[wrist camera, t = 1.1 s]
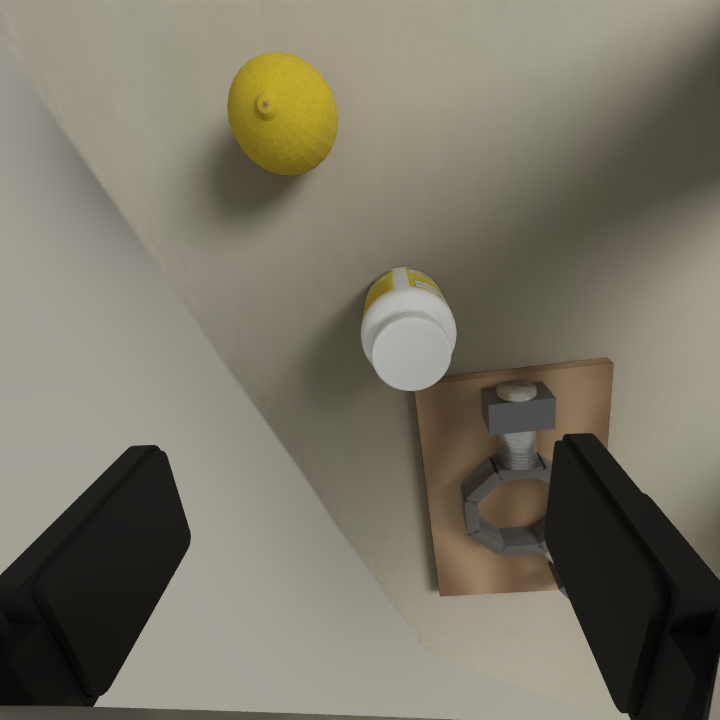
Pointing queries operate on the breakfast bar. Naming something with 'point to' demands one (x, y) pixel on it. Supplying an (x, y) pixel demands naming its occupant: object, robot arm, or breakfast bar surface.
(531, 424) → the shaft
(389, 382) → the supplement bottle
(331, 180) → the breakfast bar surface
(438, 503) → the octagonal ring mount
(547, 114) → the breakfast bar surface
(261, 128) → the lemon
